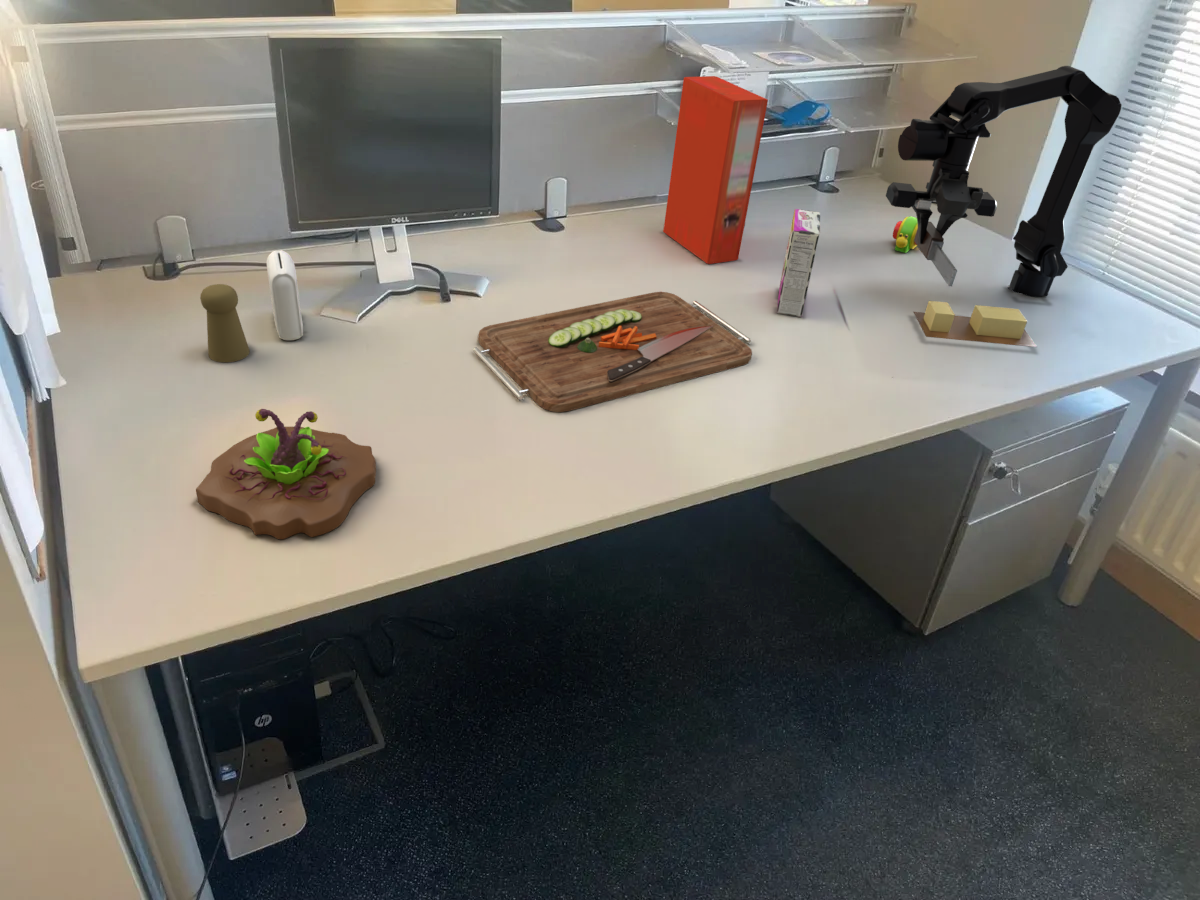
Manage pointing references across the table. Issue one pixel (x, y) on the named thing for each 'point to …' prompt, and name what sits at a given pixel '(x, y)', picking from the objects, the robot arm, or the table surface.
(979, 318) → the butter block
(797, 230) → the candy bar box
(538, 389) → the chopping board
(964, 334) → the butter board
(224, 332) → the olive brown pawn
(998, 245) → the table surface
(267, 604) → the table surface
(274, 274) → the photo printer
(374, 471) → the plant
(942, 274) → the knife
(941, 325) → the butter slice
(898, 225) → the toy measuring tape
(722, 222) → the file binder
